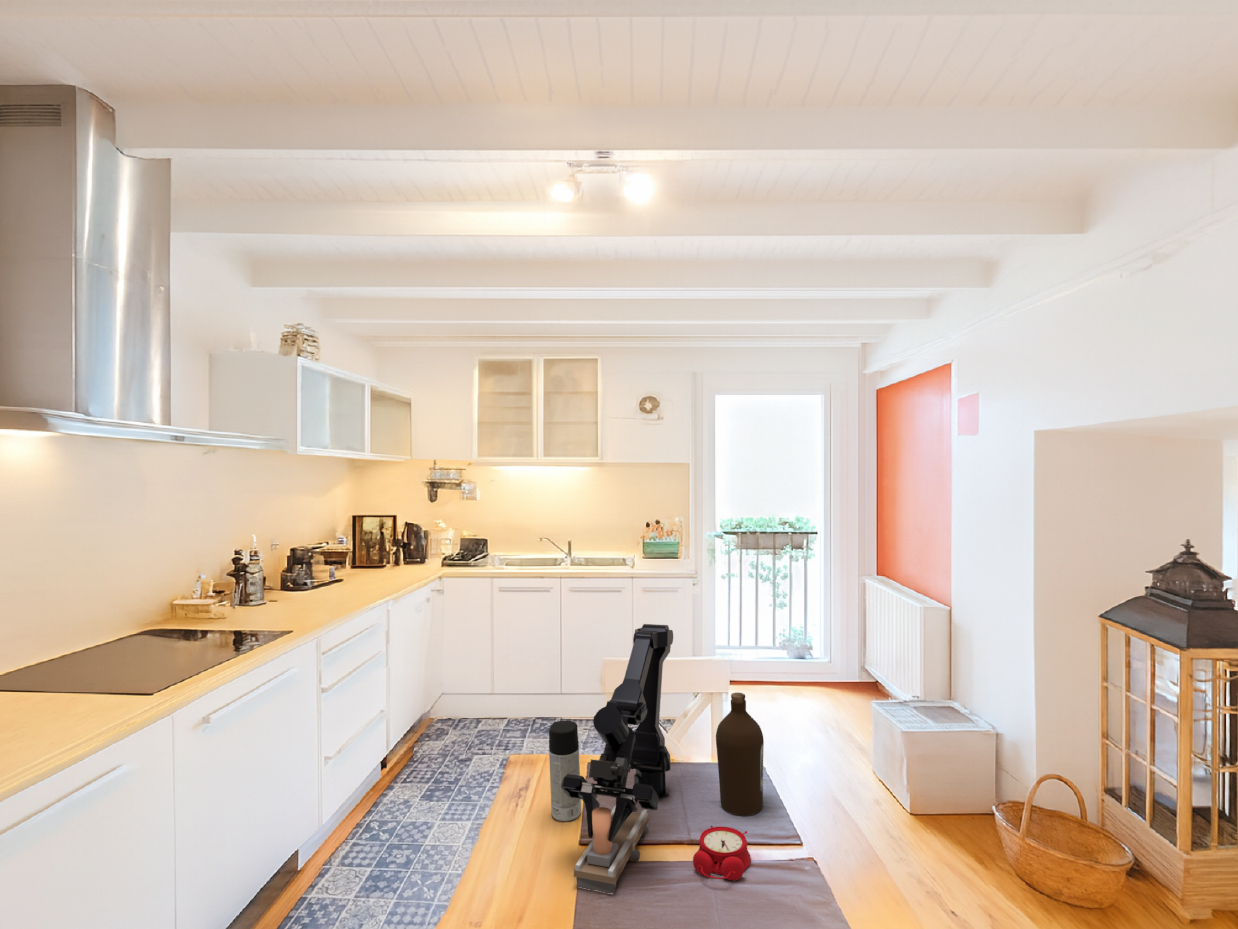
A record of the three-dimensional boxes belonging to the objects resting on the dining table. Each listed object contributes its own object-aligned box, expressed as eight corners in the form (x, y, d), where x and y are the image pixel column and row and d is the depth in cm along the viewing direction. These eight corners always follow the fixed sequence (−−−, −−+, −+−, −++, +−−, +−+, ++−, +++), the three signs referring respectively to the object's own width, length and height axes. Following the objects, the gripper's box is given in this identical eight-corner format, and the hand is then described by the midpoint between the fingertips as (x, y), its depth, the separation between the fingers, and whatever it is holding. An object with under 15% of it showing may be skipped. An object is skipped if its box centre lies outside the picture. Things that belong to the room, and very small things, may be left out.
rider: (596, 848, 127) (595, 804, 127) (618, 852, 125) (616, 807, 125) (587, 863, 122) (585, 817, 122) (609, 867, 121) (608, 820, 121)
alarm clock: (754, 828, 132) (742, 852, 118) (754, 862, 131) (742, 891, 117) (703, 820, 135) (686, 843, 122) (703, 854, 134) (685, 880, 120)
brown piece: (609, 823, 141) (609, 803, 142) (654, 831, 138) (653, 810, 138) (569, 886, 121) (568, 863, 121) (620, 896, 117) (619, 872, 117)
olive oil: (722, 819, 142) (719, 704, 142) (714, 794, 153) (710, 687, 153) (771, 816, 142) (767, 702, 142) (759, 792, 153) (755, 685, 153)
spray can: (584, 806, 149) (580, 719, 148) (577, 823, 142) (574, 733, 141) (555, 805, 150) (552, 719, 149) (548, 822, 143) (544, 732, 142)
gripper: (563, 733, 130) (540, 817, 120) (652, 744, 124) (637, 833, 114) (579, 756, 138) (559, 837, 127) (664, 767, 132) (651, 853, 121)
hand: (599, 839), depth 122 cm, fingers closed on rider, 4 cm apart
